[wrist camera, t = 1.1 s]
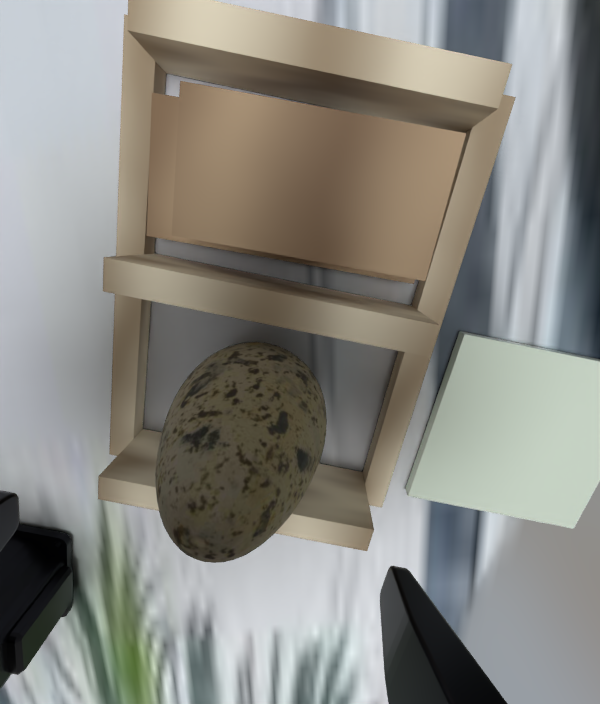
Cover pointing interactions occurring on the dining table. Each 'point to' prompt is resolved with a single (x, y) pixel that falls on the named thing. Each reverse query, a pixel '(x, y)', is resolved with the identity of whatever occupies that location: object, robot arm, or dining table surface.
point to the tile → (513, 432)
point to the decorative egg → (238, 450)
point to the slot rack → (272, 293)
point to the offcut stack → (298, 181)
